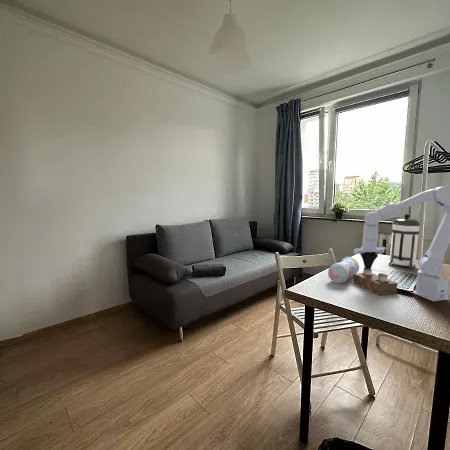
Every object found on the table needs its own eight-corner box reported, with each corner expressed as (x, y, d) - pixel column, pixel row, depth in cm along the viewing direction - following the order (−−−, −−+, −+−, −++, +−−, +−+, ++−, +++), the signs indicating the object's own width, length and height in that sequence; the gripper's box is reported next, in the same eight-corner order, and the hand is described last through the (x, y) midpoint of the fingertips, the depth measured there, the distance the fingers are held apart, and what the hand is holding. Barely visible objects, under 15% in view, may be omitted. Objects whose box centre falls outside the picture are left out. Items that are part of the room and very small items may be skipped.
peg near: (388, 285, 99) (389, 275, 99) (382, 285, 98) (382, 276, 98) (381, 282, 102) (382, 272, 102) (375, 282, 101) (376, 273, 101)
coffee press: (378, 262, 145) (383, 213, 141) (405, 262, 144) (410, 213, 140) (398, 271, 128) (403, 215, 124) (428, 271, 127) (435, 215, 123)
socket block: (396, 293, 99) (397, 283, 98) (378, 295, 97) (379, 284, 96) (369, 281, 112) (370, 272, 112) (353, 282, 110) (353, 273, 110)
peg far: (372, 278, 107) (373, 269, 106) (366, 279, 106) (367, 270, 106) (367, 276, 110) (367, 267, 109) (361, 276, 109) (361, 267, 109)
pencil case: (341, 271, 127) (342, 254, 126) (359, 275, 121) (360, 257, 120) (326, 282, 112) (327, 262, 111) (346, 286, 106) (347, 266, 105)
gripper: (376, 236, 111) (373, 264, 113) (349, 238, 108) (347, 266, 110) (389, 239, 104) (386, 269, 106) (361, 240, 101) (359, 271, 103)
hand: (367, 268), depth 107 cm, fingers closed
